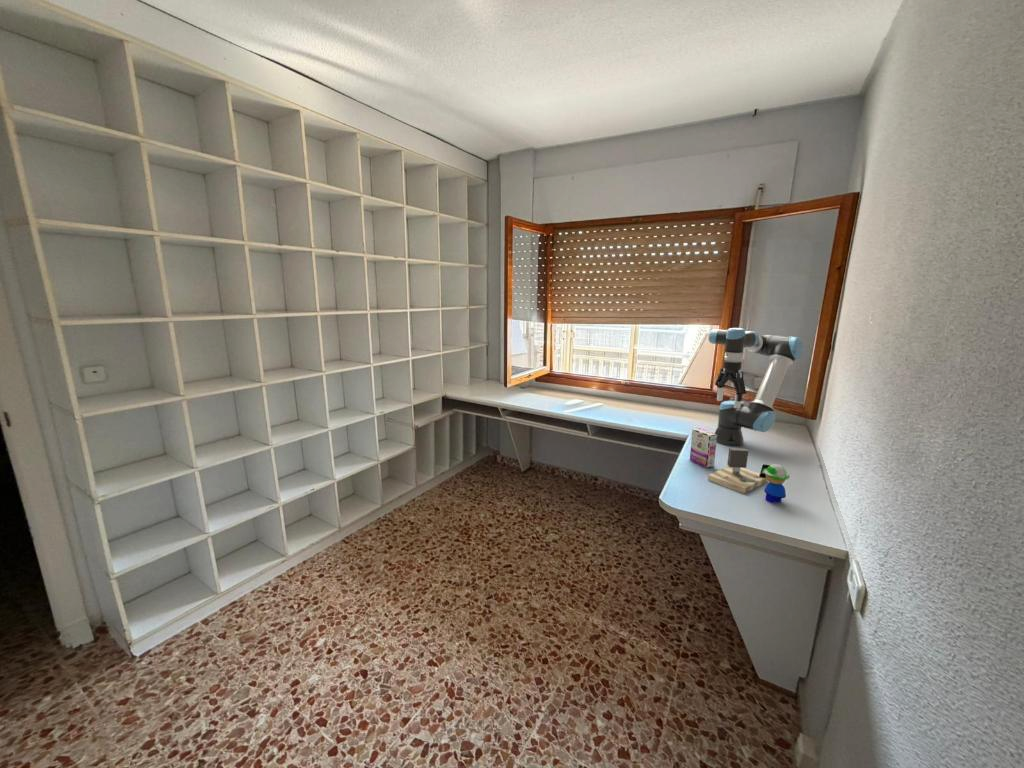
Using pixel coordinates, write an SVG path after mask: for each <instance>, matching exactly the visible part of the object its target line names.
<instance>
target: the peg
mask: <svg viewBox="0 0 1024 768" xmlns="http://www.w3.org/2000/svg"><path fill="white" fill-rule="evenodd" d="M727 455H728V457H727V464H726V465H727V466H729V467H733V470H732V472H733V473H735V474H738V476H739V477H740V478H741V479H742V480H743V481H745V479H744V478H743V477H742V476H741V475H740V468H744V469H747V464H748V457H749V450H748V449H747V448H737V447H729V449H728V454H727Z"/></svg>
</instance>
